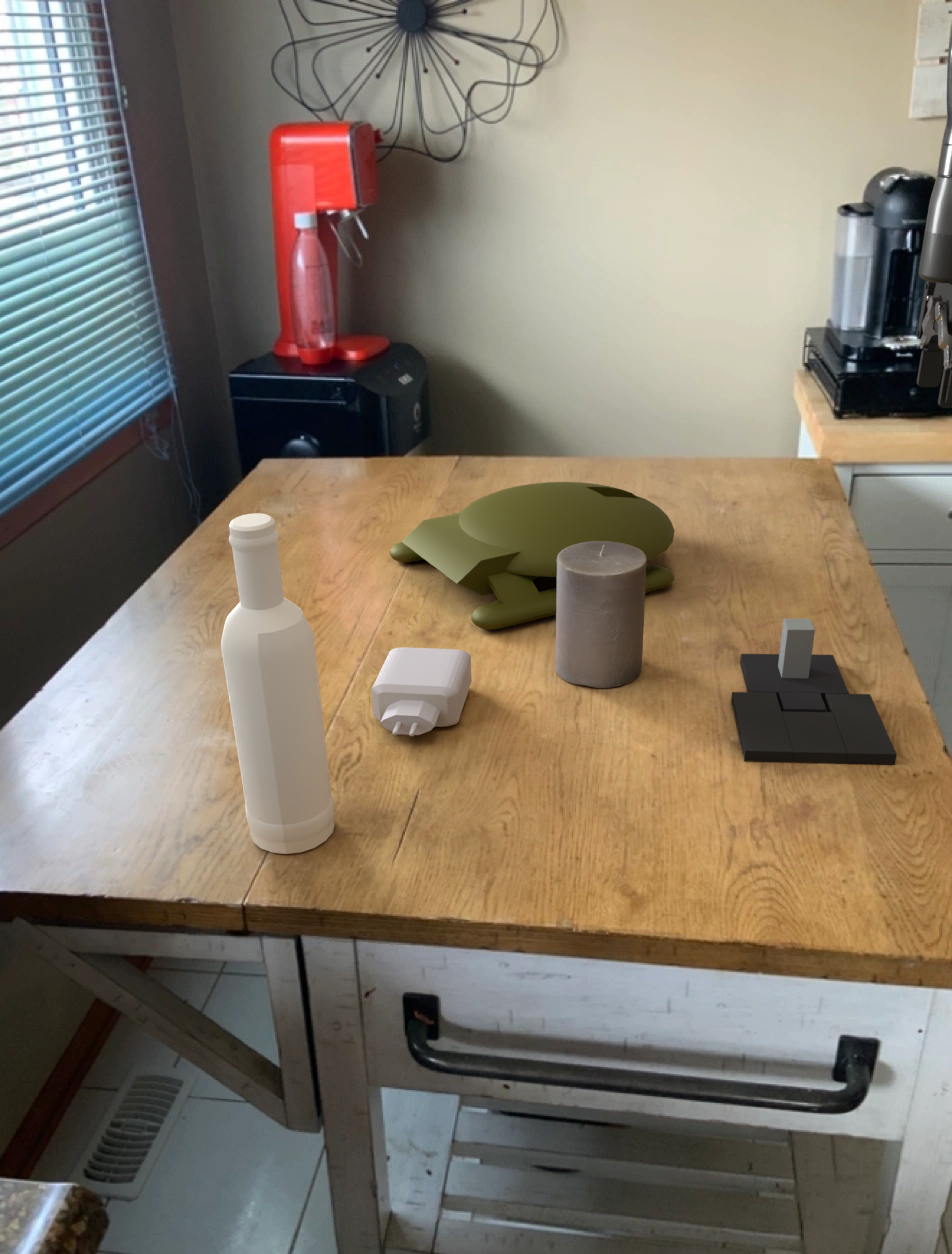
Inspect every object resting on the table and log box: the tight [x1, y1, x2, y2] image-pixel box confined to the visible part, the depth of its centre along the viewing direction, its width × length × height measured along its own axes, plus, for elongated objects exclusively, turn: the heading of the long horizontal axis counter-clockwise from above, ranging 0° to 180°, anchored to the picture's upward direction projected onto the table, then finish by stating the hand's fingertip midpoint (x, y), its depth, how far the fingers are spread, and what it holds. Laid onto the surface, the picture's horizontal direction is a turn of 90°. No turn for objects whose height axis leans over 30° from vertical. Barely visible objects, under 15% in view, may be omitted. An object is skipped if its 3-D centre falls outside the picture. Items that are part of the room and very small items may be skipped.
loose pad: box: [739, 618, 850, 712], centre depth 120 cm, size 10×13×7 cm
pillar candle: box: [554, 541, 648, 689], centre depth 125 cm, size 10×10×15 cm
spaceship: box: [389, 481, 675, 631], centre depth 152 cm, size 35×31×10 cm
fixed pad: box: [730, 691, 898, 766], centre depth 114 cm, size 14×12×1 cm
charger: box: [370, 646, 473, 737], centre depth 120 cm, size 5×9×15 cm
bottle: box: [220, 512, 335, 855], centre depth 97 cm, size 8×8×30 cm
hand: (938, 396), depth 116 cm, fingers open, 8 cm apart
